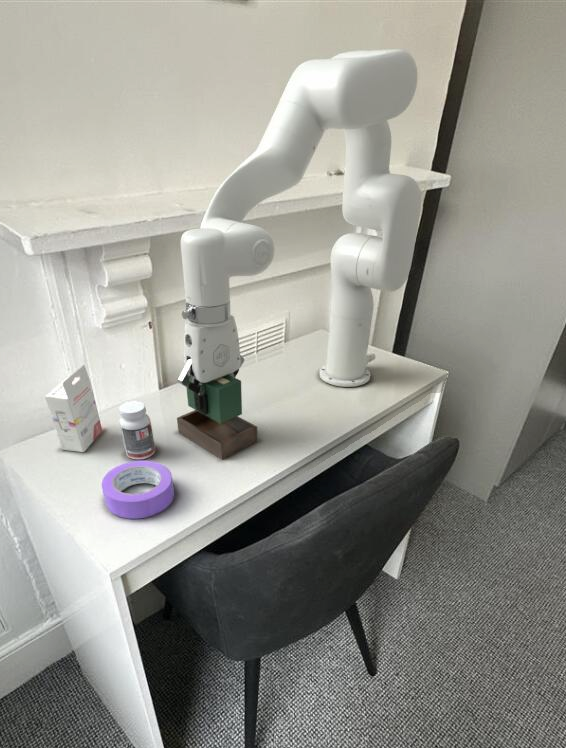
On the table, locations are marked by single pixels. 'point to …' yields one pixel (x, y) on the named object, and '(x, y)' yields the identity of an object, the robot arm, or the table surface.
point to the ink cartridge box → (75, 412)
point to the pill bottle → (136, 430)
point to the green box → (221, 398)
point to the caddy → (217, 433)
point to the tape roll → (141, 502)
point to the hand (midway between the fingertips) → (214, 405)
